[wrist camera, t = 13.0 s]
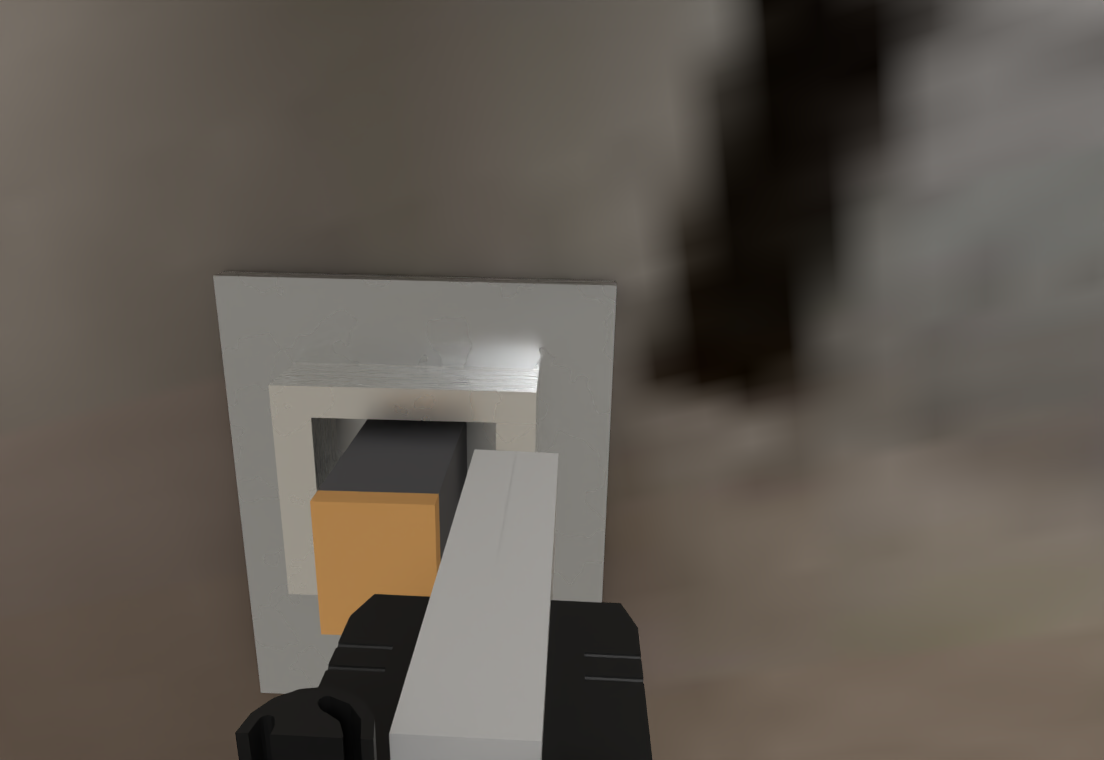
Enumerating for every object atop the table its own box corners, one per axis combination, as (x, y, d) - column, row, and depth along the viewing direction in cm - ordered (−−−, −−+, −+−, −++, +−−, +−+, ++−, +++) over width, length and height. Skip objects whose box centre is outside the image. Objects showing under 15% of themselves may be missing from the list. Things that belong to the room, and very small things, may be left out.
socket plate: (223, 271, 32) (176, 290, 28) (615, 280, 31) (621, 301, 28) (268, 678, 38) (235, 739, 34) (596, 689, 38) (599, 751, 34)
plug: (370, 413, 32) (309, 501, 25) (466, 416, 32) (434, 505, 25) (376, 521, 34) (320, 634, 26) (468, 523, 34) (438, 637, 26)
